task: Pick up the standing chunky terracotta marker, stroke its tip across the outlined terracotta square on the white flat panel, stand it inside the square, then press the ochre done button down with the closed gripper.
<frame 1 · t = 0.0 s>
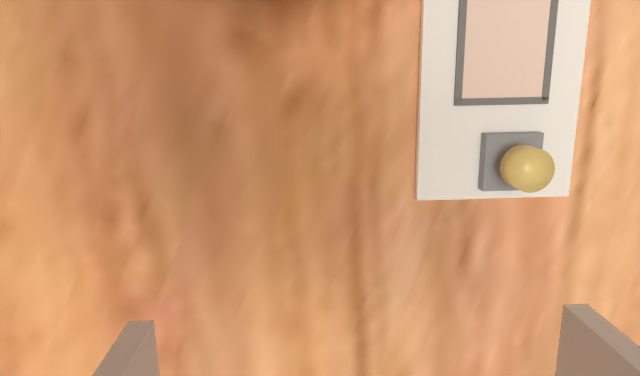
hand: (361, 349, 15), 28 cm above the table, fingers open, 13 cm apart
white flat panel: (501, 37, 40), on the table
done button: (526, 168, 38), point 5 cm above the table, slide at 0.0 cm
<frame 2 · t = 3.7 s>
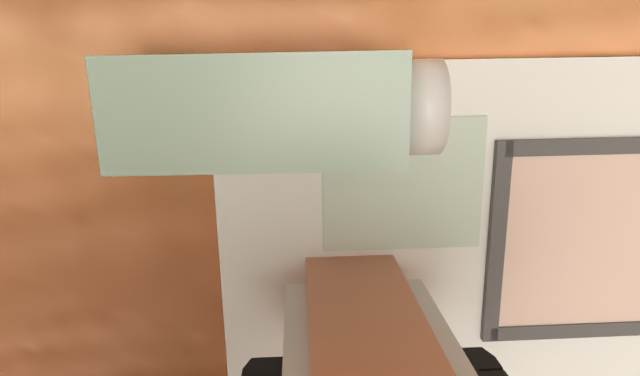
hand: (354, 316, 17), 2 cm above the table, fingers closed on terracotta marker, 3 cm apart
white flat panel: (565, 234, 19), on the table
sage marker: (265, 106, 17), point 1 cm above the table, touching white flat panel
terracotta marker: (349, 296, 19), point 1 cm above the table, touching white flat panel, gripper
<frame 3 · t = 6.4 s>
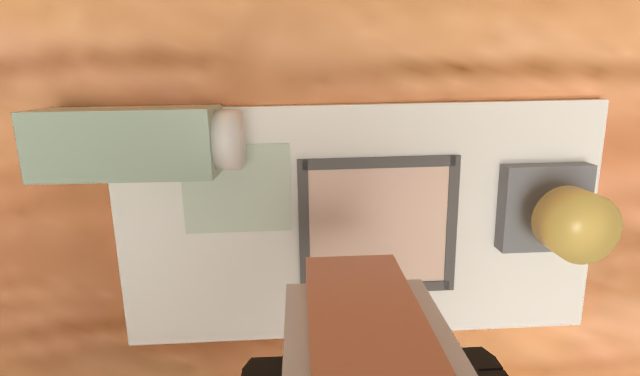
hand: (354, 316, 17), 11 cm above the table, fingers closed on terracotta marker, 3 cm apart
white flat panel: (358, 222, 28), on the table
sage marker: (140, 137, 25), point 1 cm above the table, touching white flat panel
terracotta marker: (349, 296, 19), point 10 cm above the table, touching gripper
done button: (575, 224, 24), point 4 cm above the table, slide at 0.0 cm
when the fingers open (4 cm above the table, at t = 9.2 s): terracotta marker drops 2 cm, resting on white flat panel.
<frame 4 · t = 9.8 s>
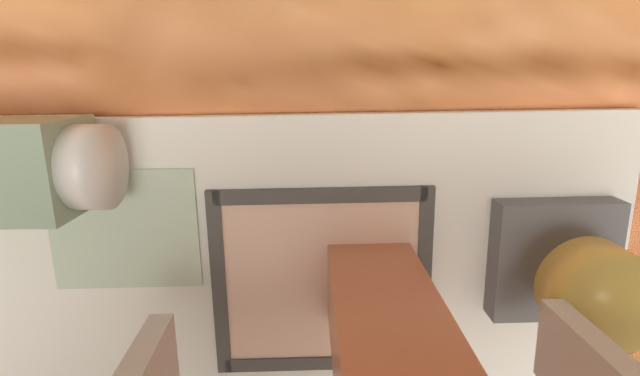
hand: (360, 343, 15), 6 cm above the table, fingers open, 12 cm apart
white flat panel: (298, 273, 21), on the table
terracotta marker: (368, 281, 20), point 1 cm above the table, touching white flat panel
done button: (598, 295, 16), point 5 cm above the table, slide at 0.0 cm, touching gripper
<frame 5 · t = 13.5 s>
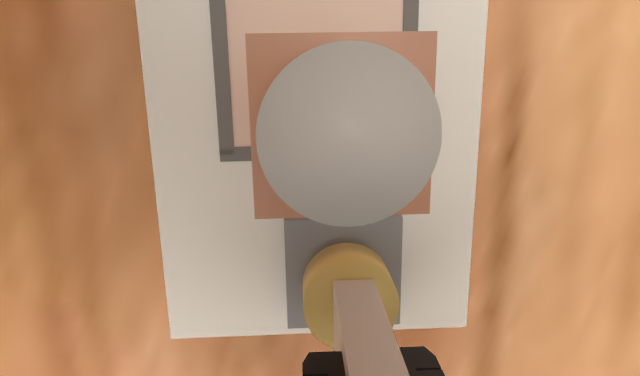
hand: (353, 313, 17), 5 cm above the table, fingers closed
white flat panel: (314, 22, 20), on the table
terracotta marker: (316, 95, 19), point 1 cm above the table, touching white flat panel
done button: (348, 294, 18), point 4 cm above the table, slide at 0.6 cm, touching gripper
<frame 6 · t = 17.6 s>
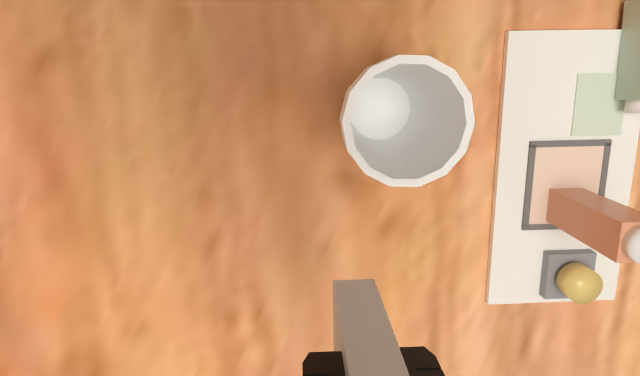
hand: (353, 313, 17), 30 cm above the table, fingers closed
white flat panel: (561, 173, 48), on the table
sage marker: (636, 51, 45), point 1 cm above the table, touching white flat panel
terracotta marker: (563, 204, 48), point 1 cm above the table, touching white flat panel
done button: (579, 282, 47), point 4 cm above the table, slide at 0.9 cm
foam cup: (378, 108, 46), on the table
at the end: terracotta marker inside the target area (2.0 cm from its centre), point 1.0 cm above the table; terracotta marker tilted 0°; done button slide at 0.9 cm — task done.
